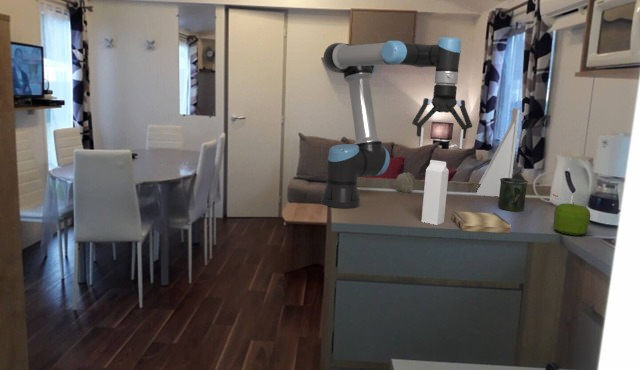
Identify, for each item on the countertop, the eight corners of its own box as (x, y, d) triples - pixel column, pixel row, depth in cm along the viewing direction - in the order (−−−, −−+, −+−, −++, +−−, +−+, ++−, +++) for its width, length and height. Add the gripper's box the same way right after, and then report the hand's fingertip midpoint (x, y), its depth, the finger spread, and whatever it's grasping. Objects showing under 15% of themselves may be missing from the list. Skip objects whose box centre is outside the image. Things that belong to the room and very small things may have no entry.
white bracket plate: (474, 189, 259) (483, 106, 252) (505, 191, 256) (514, 108, 248) (476, 196, 240) (485, 107, 233) (509, 199, 236) (520, 109, 229)
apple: (556, 236, 177) (560, 204, 175) (548, 228, 188) (552, 198, 186) (591, 239, 176) (596, 207, 174) (581, 231, 186) (586, 200, 184)
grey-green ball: (412, 197, 243) (422, 177, 241) (403, 196, 237) (412, 176, 234) (397, 187, 249) (406, 168, 246) (387, 186, 242) (396, 167, 240)
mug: (520, 207, 222) (524, 178, 220) (530, 215, 208) (534, 185, 205) (494, 205, 223) (497, 177, 221) (501, 212, 209) (505, 183, 206)
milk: (428, 219, 192) (433, 159, 188) (444, 222, 188) (450, 161, 184) (421, 222, 187) (426, 160, 183) (436, 225, 183) (442, 162, 179)
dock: (462, 230, 178) (463, 221, 177) (451, 219, 193) (451, 210, 193) (509, 233, 178) (510, 224, 177) (494, 221, 194) (495, 212, 193)
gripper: (410, 82, 175) (405, 146, 179) (485, 86, 176) (479, 150, 179) (407, 82, 183) (402, 144, 187) (478, 86, 183) (472, 147, 187)
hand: (439, 147), depth 183 cm, fingers open, 13 cm apart
